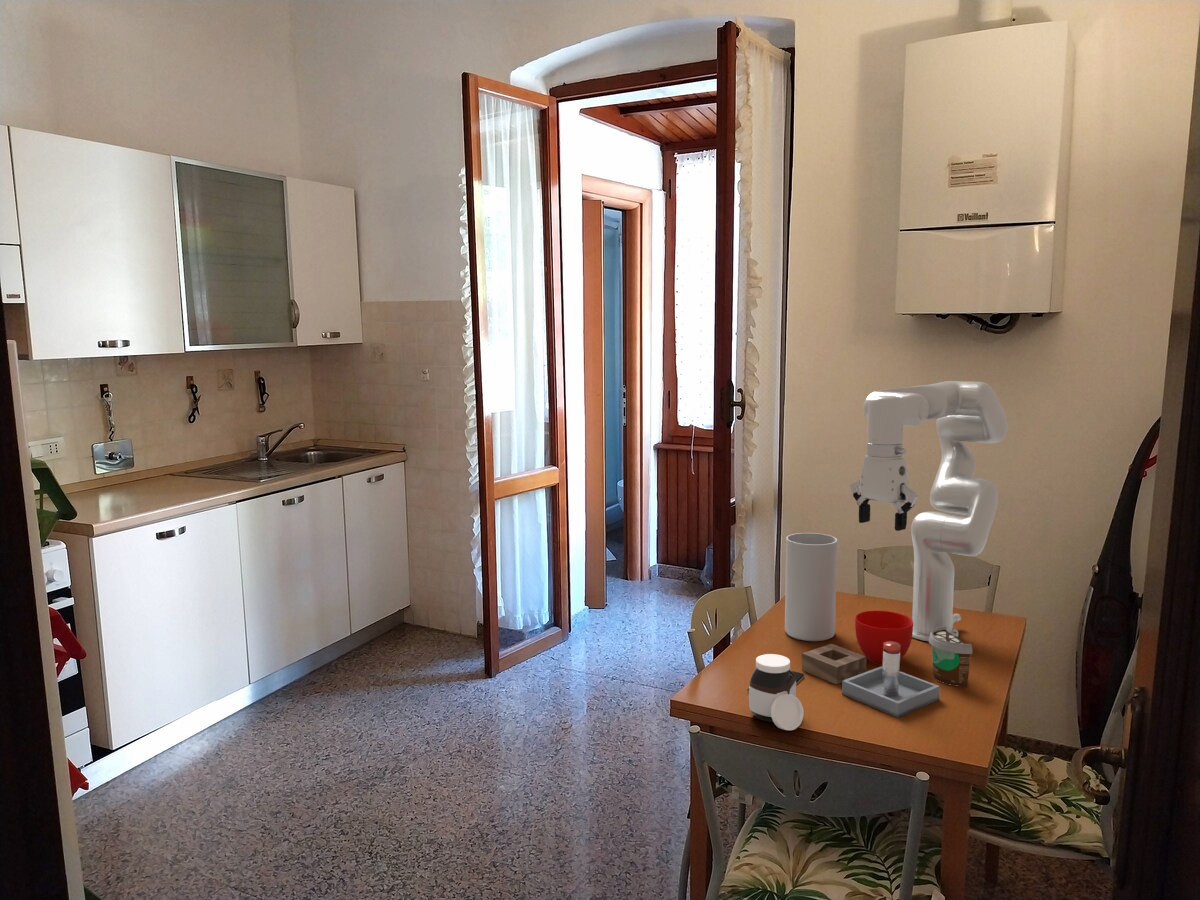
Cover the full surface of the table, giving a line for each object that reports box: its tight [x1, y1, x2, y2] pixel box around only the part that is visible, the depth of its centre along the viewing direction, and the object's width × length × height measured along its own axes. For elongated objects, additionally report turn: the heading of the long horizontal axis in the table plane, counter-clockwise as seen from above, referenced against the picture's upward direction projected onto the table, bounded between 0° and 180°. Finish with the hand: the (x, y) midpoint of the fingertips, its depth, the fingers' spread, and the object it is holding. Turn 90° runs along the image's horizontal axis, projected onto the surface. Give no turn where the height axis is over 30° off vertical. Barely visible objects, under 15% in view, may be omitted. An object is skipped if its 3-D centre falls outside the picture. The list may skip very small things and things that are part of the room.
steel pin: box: [882, 641, 901, 697], centre depth 181 cm, size 3×3×11 cm
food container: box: [928, 626, 973, 687], centre depth 190 cm, size 12×6×10 cm, turn 5°
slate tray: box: [841, 665, 941, 719], centre depth 181 cm, size 14×14×3 cm
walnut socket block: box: [801, 643, 867, 685], centre depth 195 cm, size 10×10×4 cm
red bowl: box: [854, 610, 913, 666], centre depth 202 cm, size 13×17×10 cm
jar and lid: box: [748, 653, 804, 731], centre depth 172 cm, size 12×11×12 cm
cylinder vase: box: [784, 532, 838, 642], centre depth 218 cm, size 12×12×25 cm
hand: (881, 525), depth 193 cm, fingers open, 9 cm apart
